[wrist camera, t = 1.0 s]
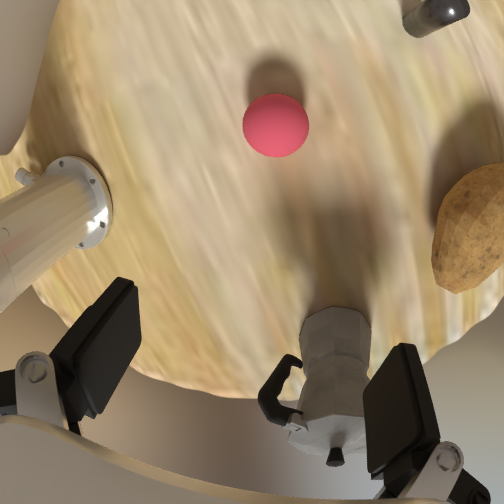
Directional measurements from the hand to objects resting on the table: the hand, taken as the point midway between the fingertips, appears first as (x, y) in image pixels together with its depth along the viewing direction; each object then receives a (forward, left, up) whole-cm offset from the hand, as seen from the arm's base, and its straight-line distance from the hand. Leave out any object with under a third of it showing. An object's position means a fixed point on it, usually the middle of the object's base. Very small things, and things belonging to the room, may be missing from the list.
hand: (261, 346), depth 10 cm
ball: (-4, +4, -18) cm, 19 cm away
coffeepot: (+13, -14, -21) cm, 29 cm away
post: (+2, +20, -21) cm, 29 cm away
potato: (+17, +7, -21) cm, 28 cm away
